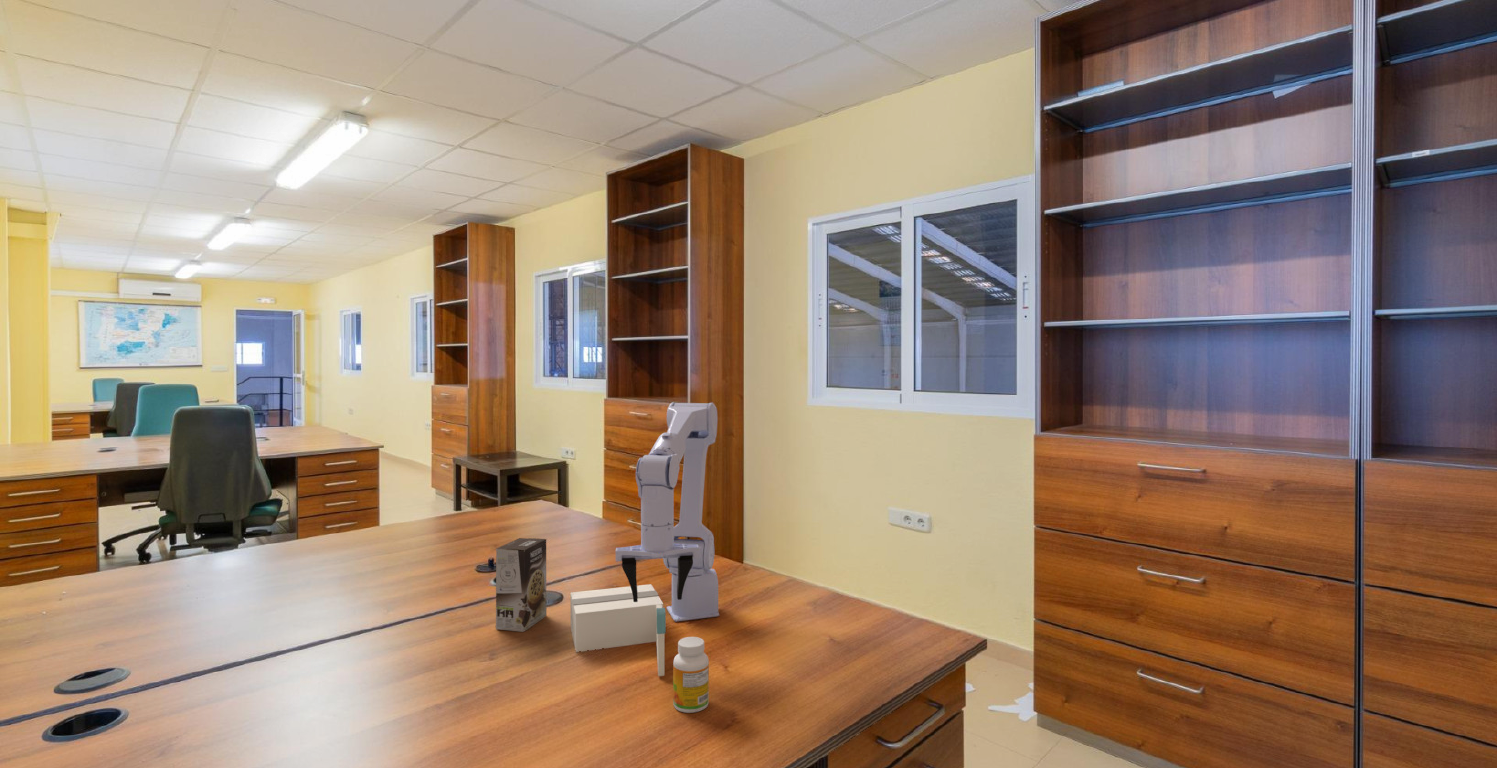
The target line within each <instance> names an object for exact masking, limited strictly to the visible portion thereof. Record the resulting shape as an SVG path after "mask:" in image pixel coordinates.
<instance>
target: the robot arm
mask: <svg viewBox="0 0 1497 768" xmlns="http://www.w3.org/2000/svg"><path fill="white" fill-rule="evenodd" d="M718 420H719V419H718V408H717V407H716V404H715V403H714V402H709V403H706V402H705V403H702V402H701V403H700V402H698V403H697V402H674V401H672V402H671V403H670V404H669V405H668V407H667V411H666V425H667V431H666V432H663V433H661V434H660V435H659V436H658V438H657V440H656V441H655V442H654V445H653V446H652V448H651V449H650V452H648V454H645V455H643V456H642V457H639V459H638V460H637V463H636V468H635V481H636V485H637V492H638V493H637V495H638V497H639V498H640V537H641V538H640V544H637V545H632V546H631V545H630V546H622V547H616V548H615V562H616V563H617V562H621V567H622V570H623V572H624V574H625V576H626V578H627V580H628V583H629V586H630V587H631V590H632V594H633V602H638V592H637V586H638V581H637V560H655V559H663V560H662V561H663V564H664V566H665V567H666V569H668V572H669V574H671V605H668V606H666V610H667V612H668V614H670V617H671V618H672V620H673V621H674V622H682V621H683V622H684V621H690V620H692V621H693V620H699V619H706V618H707V619H708V618H714V617H719V616H720V613H719V580H718V574H717V572H716V569H715V568H713V566H714V562H715V537H714V534H713V532H712V531H711V530H710V529H709V528H708V527H707V526H705V525H704V524H703V523H702V521H703V509H704V508H703V507H704V506H703V505H704V495H705V494H704V492H705V478H706V477H705V476H706V465H707V464H706V463H707V462H706V461H707V453H708V449H709V446H710V445H713V444H715V443H716V438H717V433H718ZM682 458H683V466H682V467H683V468H682V470H683V471H682V480H681V483H682V484H681V493H680V494H681V495H680V496H681V497H680V509H679V522H678V523H677V524H676V525H675V526H674V522H675V521H674V520H675V518H674V517H675V515H674V514H675V513H674V510H675V509H674V507H675V506H674V503H675V502H674V499H675V498H674V497H675V495H674V493H675V492H674V491H675V487H676V486H677V484H678V483H677V482H678V479H679V472H680V463H681V461H682ZM683 537H684V538H683ZM685 537H686V538H685ZM687 538H691V539H687ZM692 538H700V539H692Z"/></svg>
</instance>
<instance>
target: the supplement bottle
mask: <svg viewBox="0 0 1497 768" xmlns="http://www.w3.org/2000/svg"><path fill="white" fill-rule="evenodd" d="M704 651H705V640H704V639H703V638H701V637H698V636H687V637H682V638H680V639H679V640H678V642H677V652H678V653H677V654H676V655H675V656H674V658H673V664H672V665H673V666H672V667H673V669H672V673H673V674H672V683H673V687H672V689H673V691H672V692H673V693H672V695H673V696H672V698H673V699H672V700H673V701H672V703H673V707H674V708H675V709H676V710H677V711H678V712H682V713H685V714H686V713H687V714H689V713H690V714H691V713H698V712H700V711H703V710H705V709H706V708H707V707H709V703H710V702H709V700H710V698H709V697H710V693H709V692H710V691H709V690H710V685H709V684H710V683H709V681H710V680H709V677H710V676H709V674H710V673H709V672H710V671H709V669H710V667H709V665H710V664H709V663H710V660H709V657H708V655H707V654H706V653H705V652H704Z"/></svg>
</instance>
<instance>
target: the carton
mask: <svg viewBox="0 0 1497 768" xmlns="http://www.w3.org/2000/svg"><path fill="white" fill-rule="evenodd" d="M637 592H638V602H633V594H632V590H631V587H630V585H629V586H622V587H621V586H619V587H613V588H612V587H610V588H604V589H603V588H602V589H601V588H600V589H594V590H593V589H592V590H591V589H590V590H585V591H584V590H582V591H575V592H574V591H573V592H570V630H571V635H572V636H571V637H572V640H573V641H572V642H573V645H574V649H575V650H576V651H575V653H580V652H579V651H581V652H588V651H587V650H589V651H594V650H595V649H596V650H603V649H602V648H604V649H609V648H610V649H612V648H617V647H626V646H633V645H641V644H646V643H647V644H649V643H656V605H660V604H662V608H664V603H663V601H662V600H661V598H660V595H659V593H658V592H657V590H656V589H655V588H654V586H653V585H652V584H641V585H640V584H639V585H637Z"/></svg>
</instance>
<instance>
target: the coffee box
mask: <svg viewBox="0 0 1497 768" xmlns="http://www.w3.org/2000/svg"><path fill="white" fill-rule="evenodd" d="M495 554H496V555H495V556H496V557H495V561H496V563H495V566H496V567H495V569H496V570H495V574H496V575H495V629H496V630H499V631H501V630H503V631H510V632H511V631H512V632H520V633H523V632H525V631H527V630H529V629H530V628H531V627H532V626H534V625H535V624H537V623H538V622H540V621H541V620H542V619H544V618H545V617H547V538H536V537H535V538H532V537H531V538H529V537H528V538H525V537H524V538H523V537H519V538H516V539H515V540H512V541H510V542H507V543H505V544H503V545H502V546H499V547H496V548H495Z"/></svg>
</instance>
